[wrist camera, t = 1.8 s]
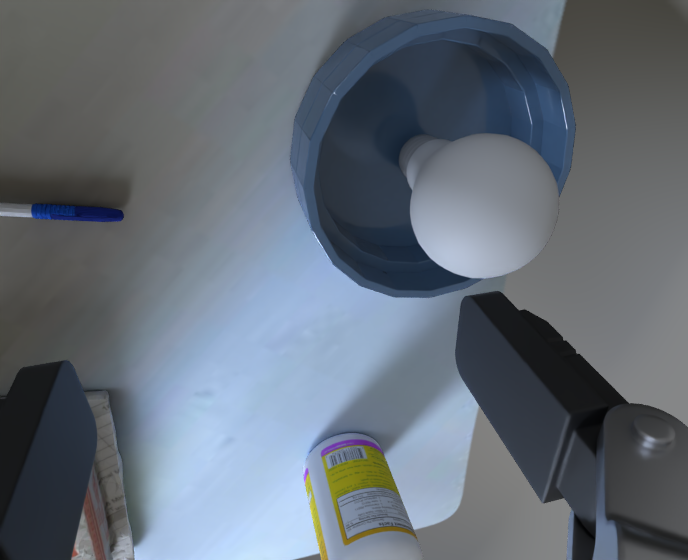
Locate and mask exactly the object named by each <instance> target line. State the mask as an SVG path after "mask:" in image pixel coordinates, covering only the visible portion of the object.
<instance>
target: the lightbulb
mask: <svg viewBox="0 0 688 560" xmlns="http://www.w3.org/2000/svg"><path fill="white" fill-rule="evenodd" d="M399 166H400V169H401V170H402V172H403V174H404V175H405V176H406V178H407V181H408V184H409V186H410V188H411V189H412V195H411V201H410V217H411V223H412V227H413V230H414V233H415V235H416V238H417V240H418V243H419V244H420V246H421V247H422V248H423V250H424V251H425V252H426V254H427V255H428V256H429V257H430V258H431V259H432V260H433V261H434V262H436V263H437V264H438V265H440V266H441V267H443V268H444V269H446V270H448V271H450V272H453V273H455V274H458V275H461V276H465V277H469V278H492V277H498V276H502V275H505V274H508V273H511V272H513V271H515V270H517V269H519V268H521V267H523V266H525V265H526V264H528V263H529V262H530V261H532V260H533V259H534V258H535V257H536V256H537V255H538V254H539V253H540V252H541V251H542V249H543V248H544V247H545V246H546V244H547V242H548V240H549V239H550V237H551V235H552V233H553V230H554V228H555V225H556V222H557V218H558V213H559V193H558V187H557V182H556V180H555V178H554V176H553V173H552V171H551V169H550V167H549V165H548V164H547V163H546V162H545V160H544V159H543V158H542V157H541V156H540V155H539V154H538V152H537V151H536V150H534V149H533V148H532V147H530V146H529V145H527V144H526V143H524V142H522V141H520V140H518V139H516V138H513V137H510V136H508V135H501V134H491V133H481V134H472V135H469V136H466V137H463V138H460V139H457V140H455V141H453V142H452V141H449V140H446V139H437V138H435V137H433V136H430V135H427V134H420V135H416V136H414V137H412V138H410V139H409V140H408V141H407V142H406V143H405V144H404V145H403V147H402V149H401V151H400V154H399Z"/></svg>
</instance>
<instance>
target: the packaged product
mask: <svg viewBox="0 0 688 560" xmlns="http://www.w3.org/2000/svg"><path fill="white" fill-rule="evenodd" d="M84 393H85V395H86V398H87V400H88V403H89V405H90V408H91V410H92V412H93V415H94V418H95V421H96V427H97V448H96V453H95V458H94V462H93V466H92V471H91V475H90V480H89V484H88V488H87V493H86V497H85V501H84V506H83V510H82V515H81V519H80V523H79V528H78V532H77V536H76V541H75V545H74V550H73V554H72V558H71V560H134V546H133V538H132V530H131V527H130V524H129V520H128V513H127V506H126V499H125V492H124V485H123V462H122V459H121V456H120V454H119V452H118V449H117V439H116V430H115V426H114V421H113V417H112V413H111V408H110V404H109V394H108V392H107V390H106V391H91V392H84ZM3 398H6V397H3ZM0 399H2V398H0Z"/></svg>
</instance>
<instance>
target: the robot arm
mask: <svg viewBox="0 0 688 560" xmlns="http://www.w3.org/2000/svg"><path fill="white" fill-rule="evenodd" d="M455 357H456V364H457V368H458V371H459V374H460V376H461V378H462V379H463V381H464V383H465V384H466V386H467V387H468V389H469V390H470V392H471V393H472V395H473V396H474V398H475V400H476V401H477V403H478V404H479V406H480V407H481V409H482V410H483V412H484V414H485V415H486V417H487V418H488V420H489V421H490V423H491V424H492V426H493V427H494V429H495V431H496V432H497V434H498V435H499V437H500V438H501V440H502V441H503V443H504V444H505V446H506V448H507V449H508V451H509V452H510V454H511V455H512V457H513V458H514V460H515V462H516V463H517V464H518V466H519V468H520V469H521V471H522V472H523V474H524V475H525V477H526V479H527V480H528V482H529V483H530V485H531V486H532V488H533V489H534V491H535V492H536V494H537V496H538V497H539V499H540V500H541V502H542V503H547V502H551V501H555V500H559V499H562V498H565V500H566V501H567V502H568V504H569V506H570V507H571V508H572V510H571V513H570V516H569V524H568V541H567V559H566V560H688V427H687V426H686V425H685V424H683V423H682V422H681V421H679V420H678V419H677V418H675V417H674V416H672V415H670V414H668V413H666V412H664V411H662V410H660V409H657V408H654V407H651V406H648V405H642V404H633V403H630V404H629V403H628V402H627V401H626V400H625V399H624V398H623V397H622V396H621V395H620V394H619V393H618V392H617V391H616V390H615V389H614V388H613V387H612V386H611V385H610V384H609V383H608V382H607V381H606V380H605V379H604V378H603V377H602V376H601V375H600V374H599V373H598V372H597V371H596V370H595V369H594V368H593V367H592V366H591V365H590V364H589V363H588V362H587V361H586V360H585V359H584V358H583V357H582V356H581V355H580V354H577V353H576V350H575V349H574V348H573V347H572V346H571V345H570V344H569V343H568V342H567V341H564V340H563V337H562V336H561V335H560V334H559V333H558V332H557V331H556V330H555V329H554V328H553V327H552V326H551V325H550V324H549V323H548V322H547V321H545V320H543V319H541V318H540V317H538V316H536V315H534V314H532V313H530V312H529V311H527V310H520V311H519V310H518V309H517V308H516V307H515V306H514V305H513V304H512V303H511V302H510V301H509V300H508V299H507V298H506V297H505V295H504V294H502V293H501V292H499V291H494V292H488V293H482V294H476V295H470V296H465V297H464V298H463V300H462V302H461V307H460V316H459V324H458V332H457V341H456V349H455ZM96 448H97V427H96V421H95V418H94V415H93V412H92V410H91V408H90V405H89V403H88V400H87V398H86V395H85V393H84V391H83V388H82V386H81V383H80V381H79V379H78V376H77V374H76V371H75V369H74V367H73V365H72V364H71V363H70V362H69V361H67V360H64V361H58V362H52V363H46V364H40V365H34V366H28V367H23V368H21V369H20V370H19V372H18V373H17V375H16V378H15V380H14V382H13V384H12V386H11V388H10V390H9V392H8V394H7V397H6V398H2V399H0V560H71V558H72V554H73V550H74V545H75V541H76V536H77V532H78V528H79V523H80V519H81V515H82V510H83V506H84V501H85V497H86V493H87V488H88V484H89V480H90V475H91V471H92V466H93V462H94V458H95V453H96Z"/></svg>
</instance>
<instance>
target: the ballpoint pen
mask: <svg viewBox="0 0 688 560" xmlns="http://www.w3.org/2000/svg"><path fill="white" fill-rule="evenodd" d="M0 216H15V217H33V218H36V219H39V218H40V219H43V218H44V219H54V220H57V219H58V220H61V219H63V220H73V221H74V220H77V221H97V222H113V221H121V220H122V219H123V218H124V214H123V212H122V211H121V210H117V209H111V208H103V207H86V206H76V207H75V206H70V205H67V206H66V205H62V206H61V205H58V206H57V205H52V204H49V205H48V204H44V205H43V204H16V203H0Z"/></svg>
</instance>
